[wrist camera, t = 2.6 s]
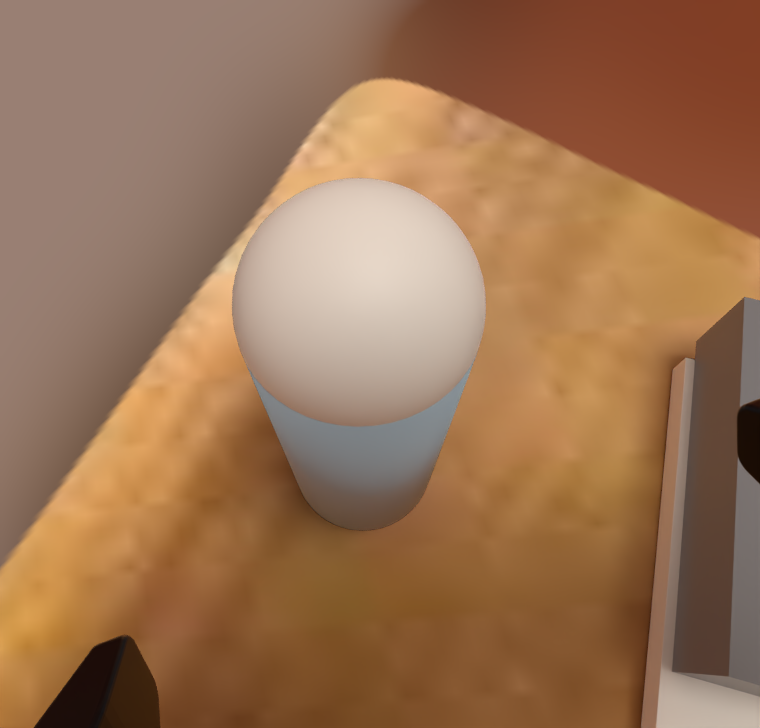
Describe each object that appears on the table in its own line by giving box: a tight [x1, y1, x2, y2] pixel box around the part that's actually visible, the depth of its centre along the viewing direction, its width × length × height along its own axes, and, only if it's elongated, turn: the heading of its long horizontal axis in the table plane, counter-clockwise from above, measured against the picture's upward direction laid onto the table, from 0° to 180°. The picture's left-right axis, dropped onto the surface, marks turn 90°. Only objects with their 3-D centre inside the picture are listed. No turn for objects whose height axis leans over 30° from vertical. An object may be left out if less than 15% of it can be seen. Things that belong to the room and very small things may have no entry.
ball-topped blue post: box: [232, 178, 486, 531], centre depth 15 cm, size 4×4×12 cm
